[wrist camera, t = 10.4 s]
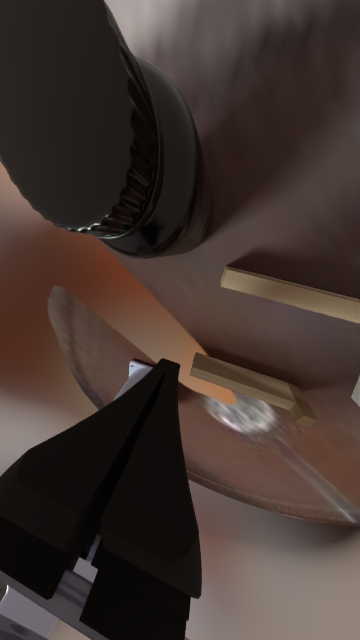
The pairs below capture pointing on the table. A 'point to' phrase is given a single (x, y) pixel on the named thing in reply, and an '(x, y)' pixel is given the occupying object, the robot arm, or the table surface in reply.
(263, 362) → the table surface
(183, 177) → the supplement bottle
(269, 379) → the chute
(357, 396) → the beige cube
